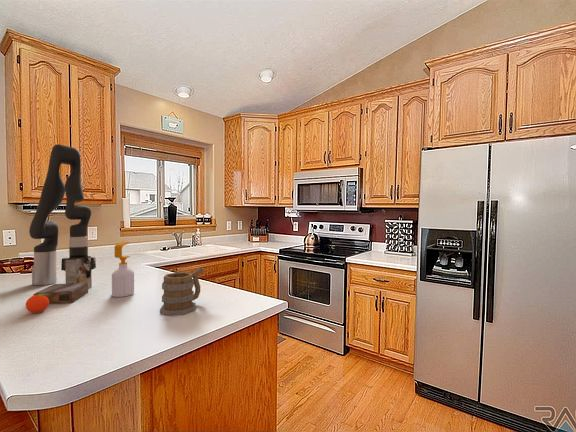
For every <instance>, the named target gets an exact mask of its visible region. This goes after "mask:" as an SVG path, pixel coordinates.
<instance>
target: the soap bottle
mask: <svg viewBox="0 0 576 432" xmlns="http://www.w3.org/2000/svg"><path fill="white" fill-rule="evenodd" d="M128 244H129V241H121V242H118V243H117V244H115V245H114V258H117V259H119V260H120V262H119V263H118V268H117V269H115V270H114V271H113V272H112V274H111V296H112V297H115V298H123V297H124V298H125V297H128V296H132V295H134V294H135V271H134V270H133V269H131V268H129V267H128V262H127V261H126V260H127V259H128V258H131V257H130V255H123V247H124V246H126V245H128Z"/></svg>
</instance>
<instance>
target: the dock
mask: <svg viewBox="0 0 576 432" xmlns="http://www.w3.org/2000/svg"><path fill="white" fill-rule="evenodd" d="M88 293H89V288H88V283H67V284H66V283H53V284H50V286H49V285H48V286H47V287H45V288H43V289H41V290H38V291H36V292H35V293H33V295H37V294H48V295H45V296H47V297H48V299H49V305H60V304H73V303H75V302H76V301H78V300H79V299H80V298H82V297H84V296H85V295H88ZM33 295H32V296H33Z"/></svg>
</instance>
